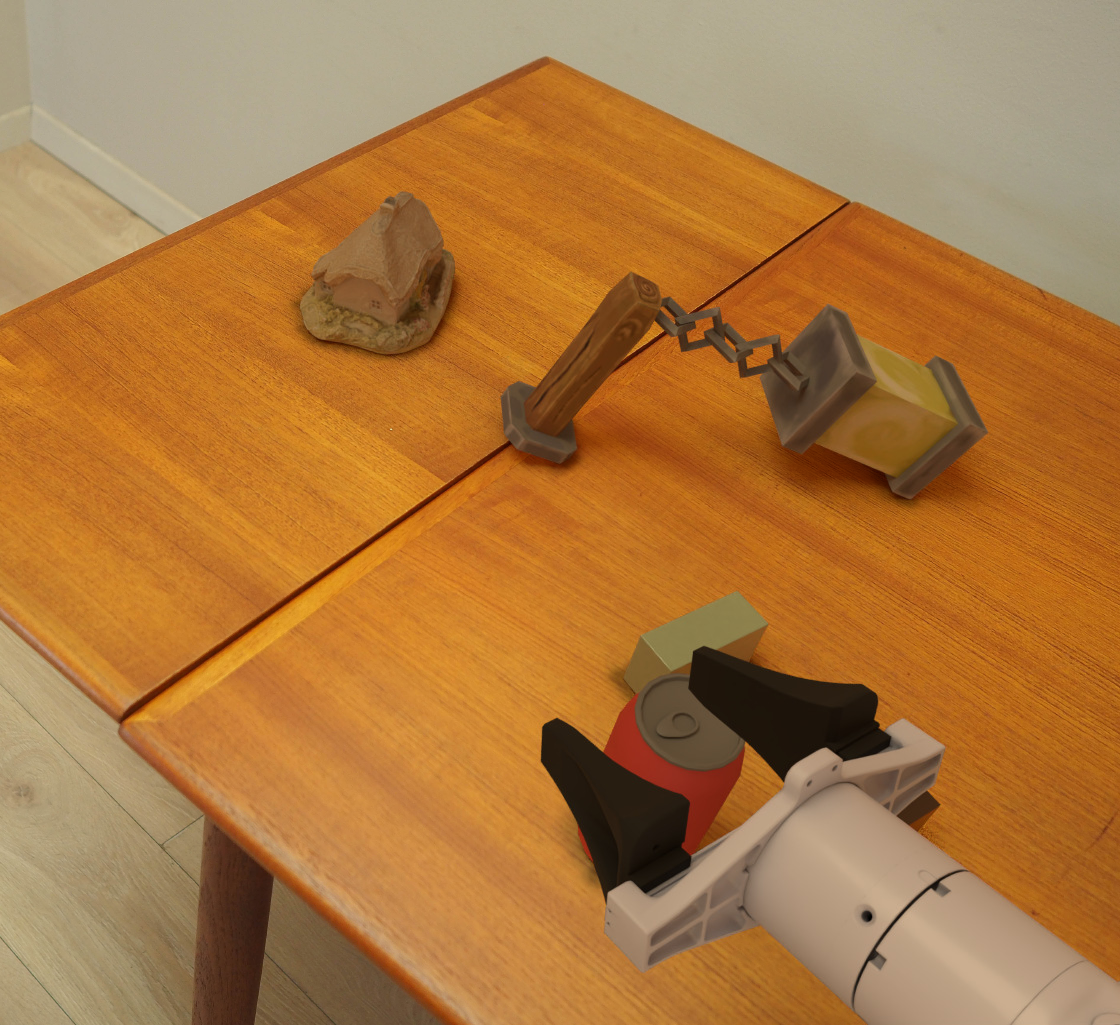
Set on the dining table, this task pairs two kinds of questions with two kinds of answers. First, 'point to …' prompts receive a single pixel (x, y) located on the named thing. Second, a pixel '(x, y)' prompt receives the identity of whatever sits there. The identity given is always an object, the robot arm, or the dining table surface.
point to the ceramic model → (383, 281)
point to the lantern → (770, 388)
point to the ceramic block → (696, 639)
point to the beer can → (678, 750)
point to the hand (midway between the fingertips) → (625, 702)
